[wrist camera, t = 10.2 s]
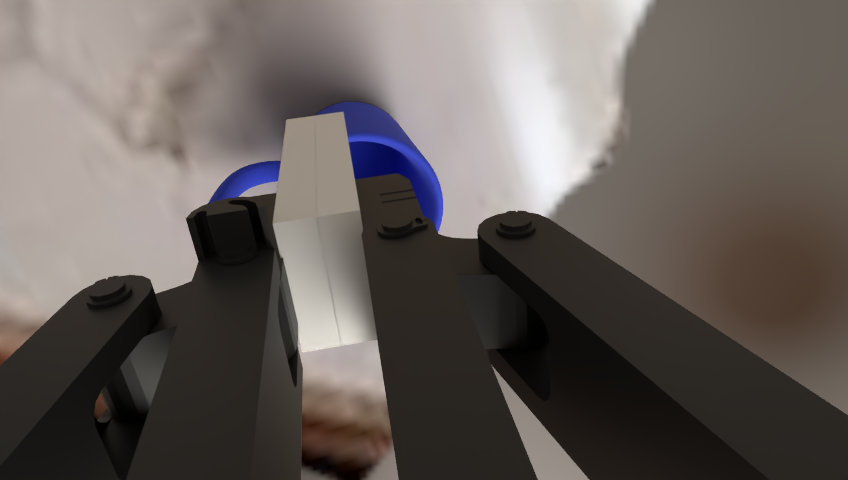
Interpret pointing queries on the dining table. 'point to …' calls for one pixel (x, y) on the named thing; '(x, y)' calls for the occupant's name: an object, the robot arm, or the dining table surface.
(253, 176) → the mug
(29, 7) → the dining table surface
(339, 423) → the dining table surface
